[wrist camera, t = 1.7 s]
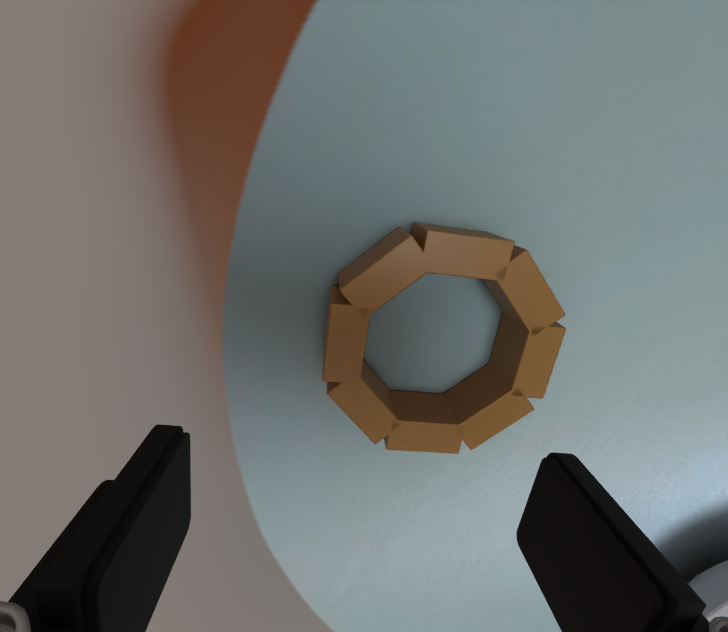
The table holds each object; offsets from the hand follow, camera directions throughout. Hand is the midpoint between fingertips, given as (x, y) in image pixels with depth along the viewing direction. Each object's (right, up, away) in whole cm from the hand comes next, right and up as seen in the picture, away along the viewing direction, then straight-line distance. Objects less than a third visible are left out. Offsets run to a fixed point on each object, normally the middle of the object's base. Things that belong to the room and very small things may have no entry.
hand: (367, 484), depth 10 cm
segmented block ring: (+3, +4, +11) cm, 12 cm away
